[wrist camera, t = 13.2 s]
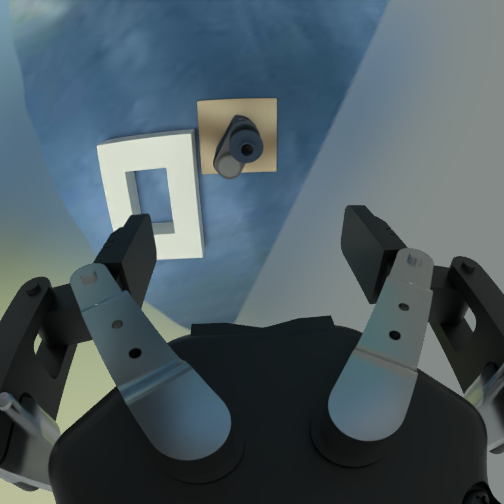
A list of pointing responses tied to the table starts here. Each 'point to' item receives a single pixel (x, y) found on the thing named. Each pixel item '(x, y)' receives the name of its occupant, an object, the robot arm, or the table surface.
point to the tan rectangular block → (218, 119)
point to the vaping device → (237, 147)
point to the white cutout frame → (179, 181)
